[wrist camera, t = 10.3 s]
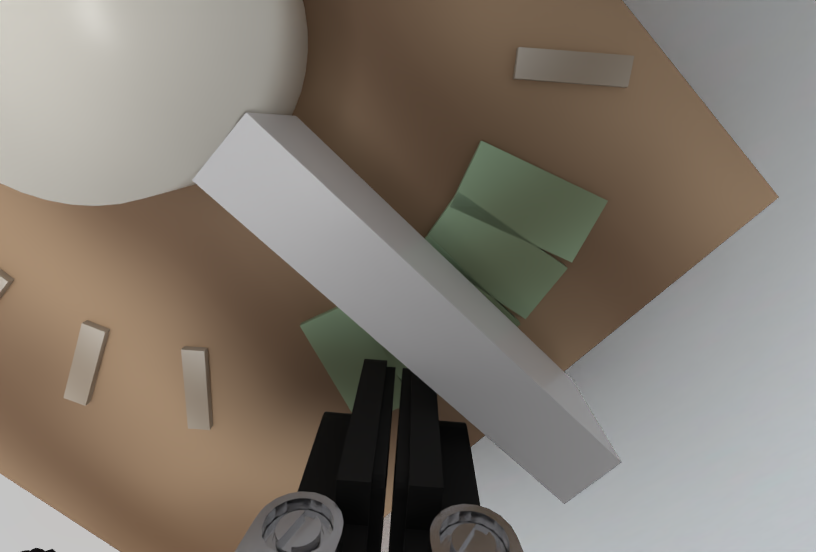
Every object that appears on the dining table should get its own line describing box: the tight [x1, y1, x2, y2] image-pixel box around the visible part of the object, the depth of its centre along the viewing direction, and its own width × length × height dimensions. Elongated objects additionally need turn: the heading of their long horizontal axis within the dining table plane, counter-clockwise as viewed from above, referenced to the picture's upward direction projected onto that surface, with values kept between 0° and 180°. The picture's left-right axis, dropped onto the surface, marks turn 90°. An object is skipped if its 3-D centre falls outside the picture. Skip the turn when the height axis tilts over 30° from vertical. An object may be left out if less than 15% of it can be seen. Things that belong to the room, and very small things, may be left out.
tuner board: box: [0, 0, 778, 552], centre depth 12 cm, size 20×18×2 cm
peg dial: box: [0, 0, 621, 504], centre depth 9 cm, size 15×6×3 cm, turn 46°
